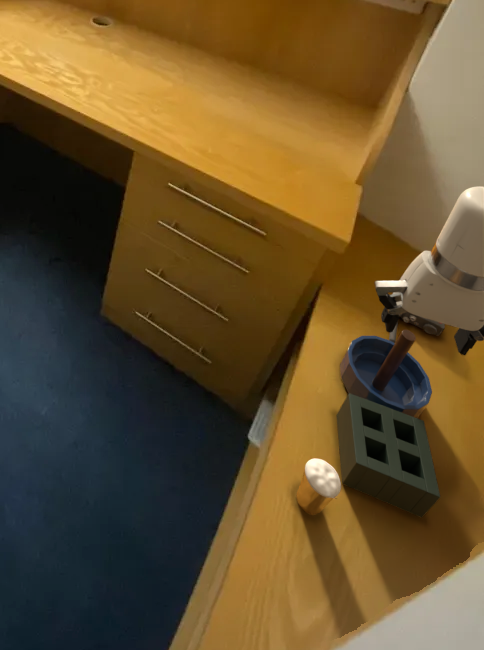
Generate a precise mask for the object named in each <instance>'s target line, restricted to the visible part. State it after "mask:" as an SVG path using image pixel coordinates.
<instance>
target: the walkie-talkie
mask: <svg viewBox="0 0 484 650" xmlns="http://www.w3.org/2000/svg"><path fill="white" fill-rule="evenodd" d="M395 293H399V292H392V294H395ZM396 303H397V305H400V304H402V301H400V302H396ZM398 315H399V317H400V318H401V320H403V322H404V323H409V324H411V325H413V326H415V327H418V328H420V329H422V330H423V331H424V332H425V333H427V334H428V335H435V336H437V337H440V335H441V334H442V333H443V332H444V330H445V328H446V327H445V326H446V324H443V323H440V322H437V321H433V320H430V319H426V318H423V317H420V316H417V315H414V314H412V313H409V312H406V313H402V314H398ZM398 323H399V321H398V322H397V324H396V326H395V328H394V330H393V332H391V333H390V332H389V336H388V337H389V338H388V340H390V341H392V342H393V343H395V342H396V341H397V334H398V333H397V332H398Z"/></svg>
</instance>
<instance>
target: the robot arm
mask: <svg viewBox="0 0 484 650" xmlns="http://www.w3.org/2000/svg"><path fill="white" fill-rule="evenodd" d="M373 284H374V290H375V292H376V295H377V297H378V301H379V302H380V304H382V305H383V307H384V308H383V310H382V312H381V315H380V317H381V318H380V319H381V322H382V323H384V327H385V330H386V332H387V333H389V334H390V333H391V332H393V330H394V328H395V326H396V324H397V322H398V323H399V320H400V316H399V315H398V314H402V313H406V312H409V313H412V314H414V315H417V316H420V317H423V318H426V319H430V320H433V321H437V322H440V323H443V324H445V325H447V326H450V327H455V328H458V329H457V331H456V332H455V334H454V336H453V339H454V342H455V345H456V349H457V352H458V353H459V354H460V355H461V356H466V355H467V353H469V350H471V349H473V348H474V346H475V345H476V343H477V341H478V342H482V341H484V186H479V185H478V186H472V187H469V188H466V189H465V190H463V191H462V192H461V193H460V195H459V196H458V198H457V200H456V201H455V203H454V206H453V207H452V209H451V211H450V213H449V215H448V217H447V219H446V221H445V223H444V225H443V227H442V228H441V231H440V233H439V235H438V237H437V239H436V240H435V242H434V244H433V247H432V248H431V250H423V251H422V252H421V253H420V254H418V255H417V256H416V257H415V258H414V259H413V260H412V261H411V263H410V264H409V265H408V267H407V268H406V270H405V271H404V273H403V274H402V275H401V277H400V279H399V280H375V281H374V282H373ZM393 292H399V293H395V294H393ZM389 293H392V294H389ZM400 301H402V304H400V305H397V303H396V302H400Z"/></svg>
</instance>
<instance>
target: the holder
mask: <svg viewBox="0 0 484 650" xmlns="http://www.w3.org/2000/svg"><path fill="white" fill-rule="evenodd" d="M336 425H337V427H336V428H337V436H338V437H337V439H338V449H339V461H340V463H339V464H340V473H341V485H344V486H347V487H348V488H351V489H353V490H355V491H358V492H360V493H362V494H365V495H368V496H370V497H371V498H374V499H377V500H379V501H381V502H384V503H386V504H389V505H391V506H394V507H395V508H398V509H400V510H402V511H405V512H407V513H409V514H412V515H414V516H416V517H419V518H423V517H424V516H425V515H426V514H427V513H428V512H429V511H430V510H431V508H433V506H434V505H435V504H436V503H437V502H438V501H439V499H440V498H441V493H440V489H439V483H438V479H437V475H436V470H435V466H434V462H433V456H432V452H431V447H430V443H429V442H430V441H429V438H428V434H427V428H426V424H425V420H423V419H420V418H419V417H418V418H415V417H412V416H409V415H407V414H404V413H401V412H399V411H396V410H393V409H391V408H388V407H385V406H383V405H380V404H377V403H375V402H372V401H369V400H366V399H364V398H361V397H358V396H355V395H353V394H350V393H348V394H347V396H346V398H345V399H344V401H343V403H342V404H341V406H340V408H339V409H338V412H337V413H336Z"/></svg>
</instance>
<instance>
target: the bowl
mask: <svg viewBox="0 0 484 650" xmlns="http://www.w3.org/2000/svg"><path fill="white" fill-rule="evenodd" d="M394 344H395V343H393V342H392V341H390V340H389V339H387V338H383V337H381V336H379V335H378V336H377V335H360V336H359V337H357V338H355V339H353V340H351V342H350V343H349V346H348V348H347V350H346V351H345V353H344V355H343V357H342V360H341V362H340V364H339V370H340V379H341V381H342V383H343V385H344V387H345V389H346V391H347V393H348V394H349V393H350V394H353V395H355V396H358V397H361V398H364V399H366V400H369V401H372V402H375V403H377V404H380V405H383V406H385V407H388V408H391V409H393V410H396V411H399V412H401V413H404V414H407V415H409V416H412V417H415V418H418V419H419V418H420V416H421V414H422V413H423V412H424V410H425V409H426V408H427V407H428V405H429V403H430V401H431V397H432V394H433V389H432V385H431V380H430V377H429V375H428V374H427V372H426V370H425V369H424V368H423V366H422V365H421V363H420V362H419V361H418V360H417V359H416V358H415V357H414V356H413V355H412V354H411V353H410V352H408V353H407V354H406V356H405V357H404V359H403V361H402V362H401V364H400V365H399V367H398V368H397V370H396V372H395V373H394V375H393V376H392V378H391V380H390V381H389V383H388V384H387V386H386V387H385V389H384V390H383V391H379V390H377V389H376V388H375V387H374V386H373V384H372V381H373V379H374V377H375V376H376V374H377V372H378V371H379V369H380V367H381V366H382V364H383V362H384V361H385V359H386V357H387V356H388V354H389V352H390V351H391V349H392V347H393V346H394Z"/></svg>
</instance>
